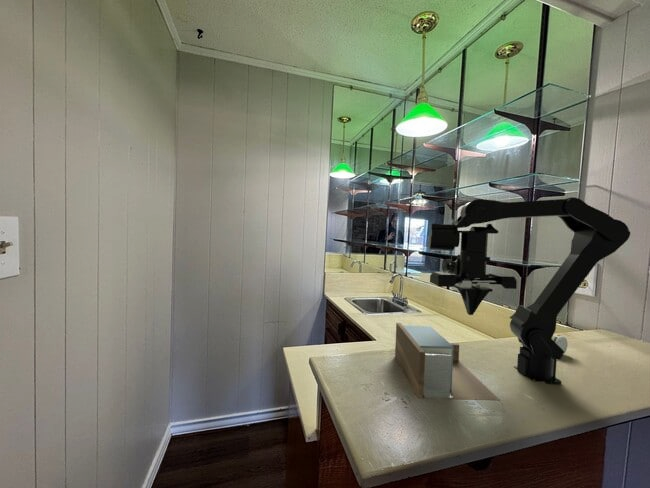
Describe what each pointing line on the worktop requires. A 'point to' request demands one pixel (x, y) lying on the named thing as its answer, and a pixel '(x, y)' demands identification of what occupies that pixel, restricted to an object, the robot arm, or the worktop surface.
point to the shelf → (414, 365)
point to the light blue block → (431, 341)
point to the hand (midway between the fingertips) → (470, 314)
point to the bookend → (437, 375)
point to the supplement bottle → (560, 341)
